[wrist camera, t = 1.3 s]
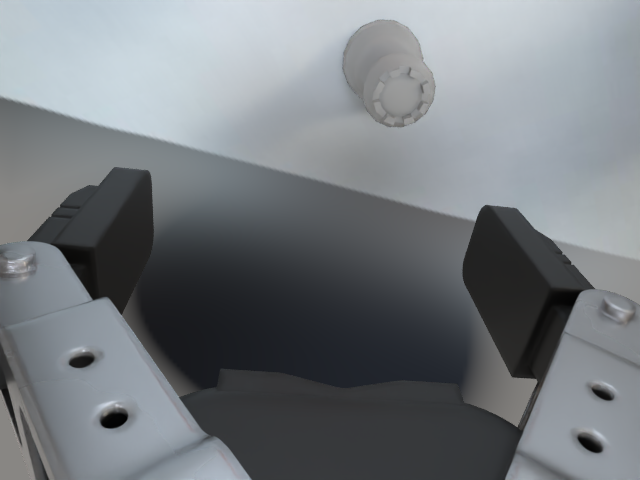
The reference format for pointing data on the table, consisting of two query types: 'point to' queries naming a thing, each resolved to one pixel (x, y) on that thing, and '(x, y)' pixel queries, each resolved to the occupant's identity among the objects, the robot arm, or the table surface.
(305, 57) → the table surface
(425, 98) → the rook chess piece
